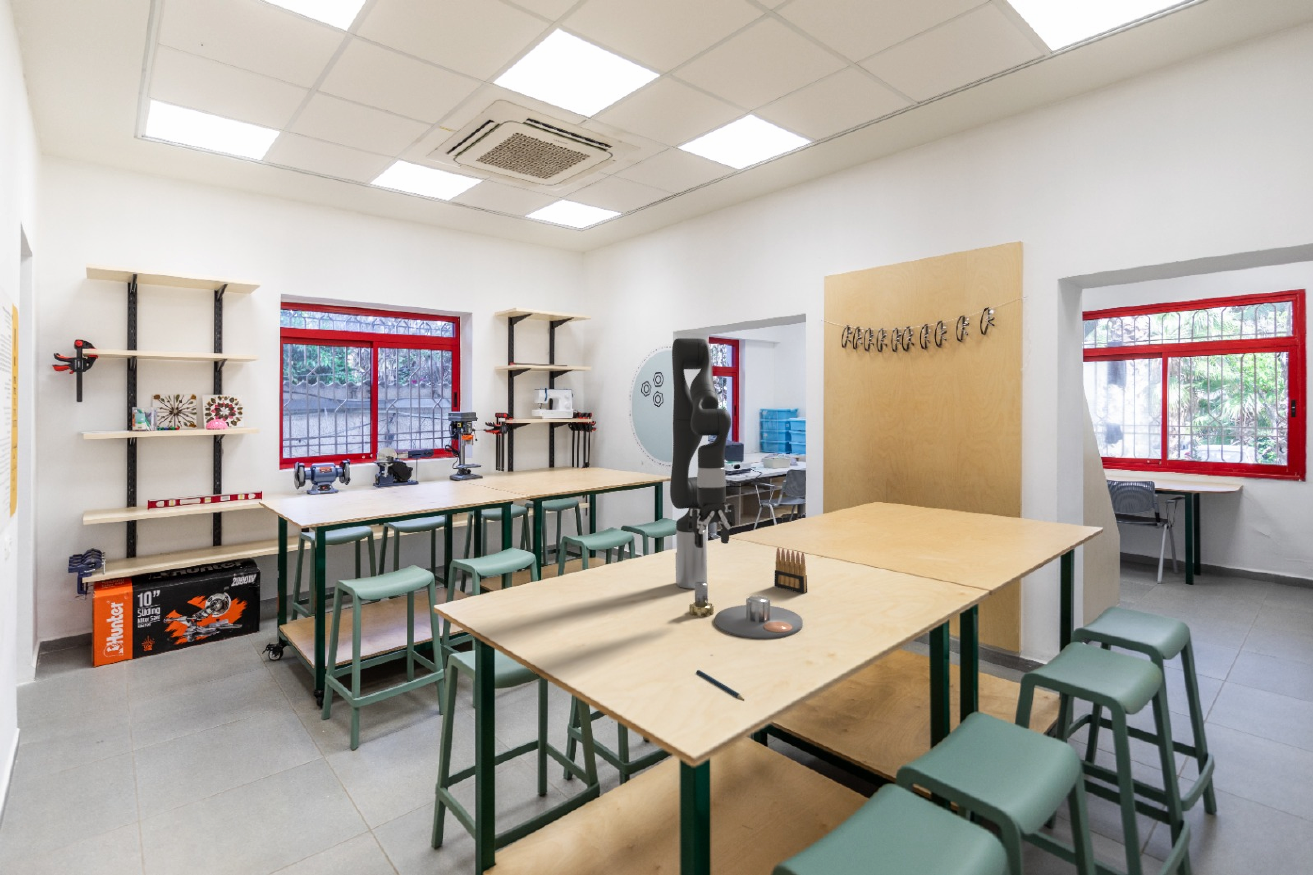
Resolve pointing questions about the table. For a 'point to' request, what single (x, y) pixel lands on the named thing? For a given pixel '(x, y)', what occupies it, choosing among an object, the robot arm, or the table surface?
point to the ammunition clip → (790, 572)
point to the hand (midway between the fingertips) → (712, 545)
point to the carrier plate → (758, 620)
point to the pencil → (719, 684)
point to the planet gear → (701, 601)
